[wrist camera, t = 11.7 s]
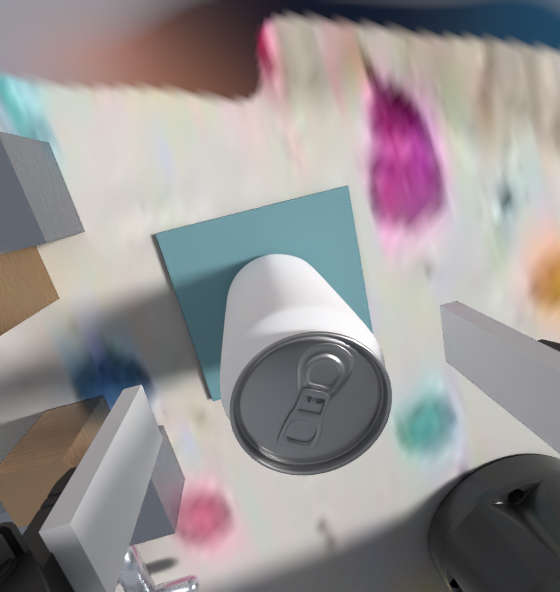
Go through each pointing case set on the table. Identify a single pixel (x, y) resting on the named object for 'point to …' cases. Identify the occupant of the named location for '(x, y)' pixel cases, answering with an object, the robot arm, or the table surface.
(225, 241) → the mat
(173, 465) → the vise
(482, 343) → the robot arm
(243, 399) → the can
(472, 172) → the table surface
